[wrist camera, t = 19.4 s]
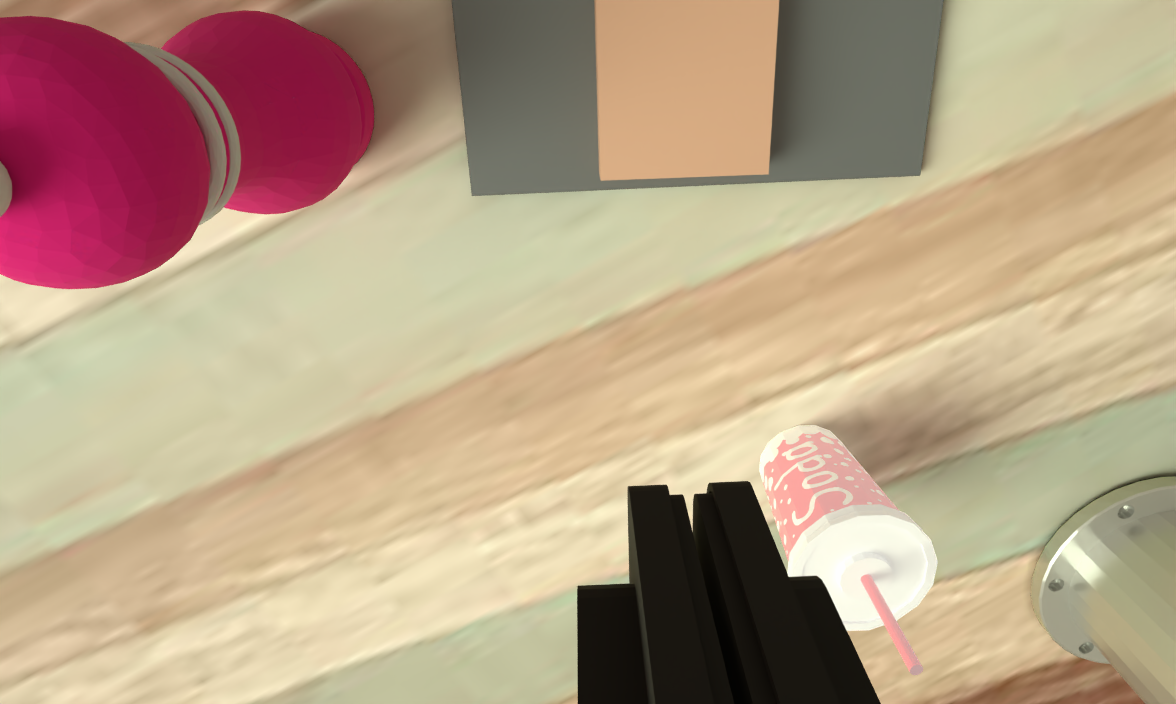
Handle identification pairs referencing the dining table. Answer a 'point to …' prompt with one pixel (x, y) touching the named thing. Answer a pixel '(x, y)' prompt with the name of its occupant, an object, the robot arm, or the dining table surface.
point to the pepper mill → (163, 138)
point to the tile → (684, 87)
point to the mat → (800, 102)
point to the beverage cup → (847, 532)
